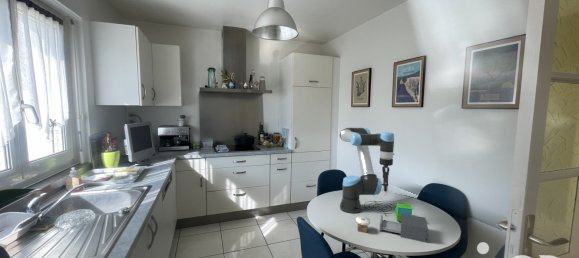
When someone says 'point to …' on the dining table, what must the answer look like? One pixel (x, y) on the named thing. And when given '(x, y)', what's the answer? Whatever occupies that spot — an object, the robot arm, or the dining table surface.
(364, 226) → the walnut block
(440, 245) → the dining table surface
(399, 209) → the green and teal box
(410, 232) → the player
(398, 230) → the grey drawer
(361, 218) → the disc
